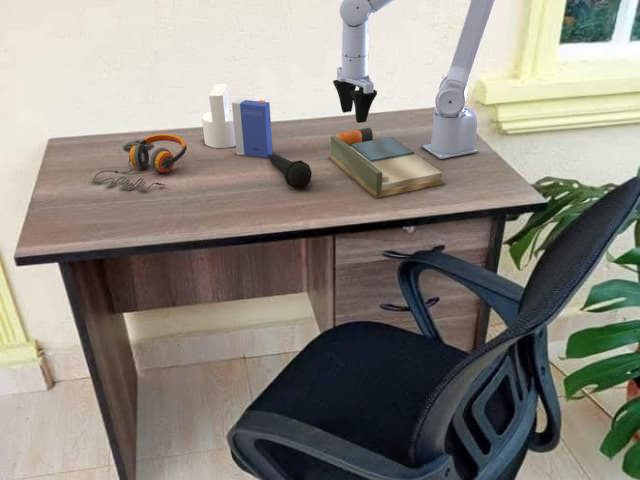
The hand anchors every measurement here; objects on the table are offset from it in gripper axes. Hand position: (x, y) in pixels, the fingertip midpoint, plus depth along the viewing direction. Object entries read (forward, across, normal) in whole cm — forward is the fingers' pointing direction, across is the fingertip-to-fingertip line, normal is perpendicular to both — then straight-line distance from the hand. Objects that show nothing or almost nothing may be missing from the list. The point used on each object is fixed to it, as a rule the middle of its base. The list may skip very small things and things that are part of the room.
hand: (354, 116), depth 150 cm
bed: (+6, +17, -1) cm, 18 cm away
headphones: (+7, -4, -47) cm, 48 cm away
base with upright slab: (+7, -15, -27) cm, 32 cm away
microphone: (+7, +10, -20) cm, 23 cm away
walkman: (+7, -4, -23) cm, 24 cm away
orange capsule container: (+6, 0, 0) cm, 6 cm away
